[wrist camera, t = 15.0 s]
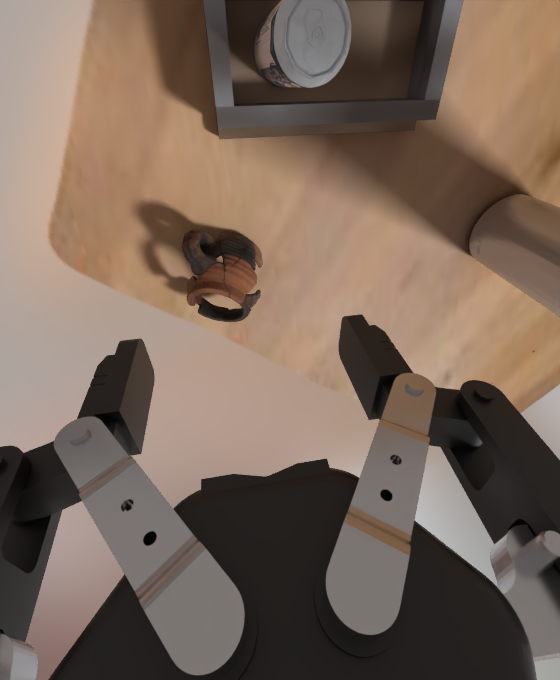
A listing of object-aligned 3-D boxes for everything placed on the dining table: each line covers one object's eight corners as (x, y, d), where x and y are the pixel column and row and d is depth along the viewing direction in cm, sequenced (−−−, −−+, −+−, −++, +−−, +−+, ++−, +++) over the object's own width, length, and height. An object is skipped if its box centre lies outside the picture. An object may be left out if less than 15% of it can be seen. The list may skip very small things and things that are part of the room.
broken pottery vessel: (280, 265, 42) (271, 320, 39) (224, 281, 47) (212, 330, 44) (222, 194, 33) (203, 256, 30) (160, 222, 38) (138, 279, 35)
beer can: (261, 93, 30) (286, 98, 20) (245, 22, 27) (266, -11, 17) (312, 77, 30) (360, 74, 20) (302, 4, 27) (353, -39, 17)
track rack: (197, -47, 25) (195, -70, 21) (440, -42, 27) (477, -62, 23) (219, 136, 32) (220, 144, 29) (407, 128, 35) (432, 134, 31)
